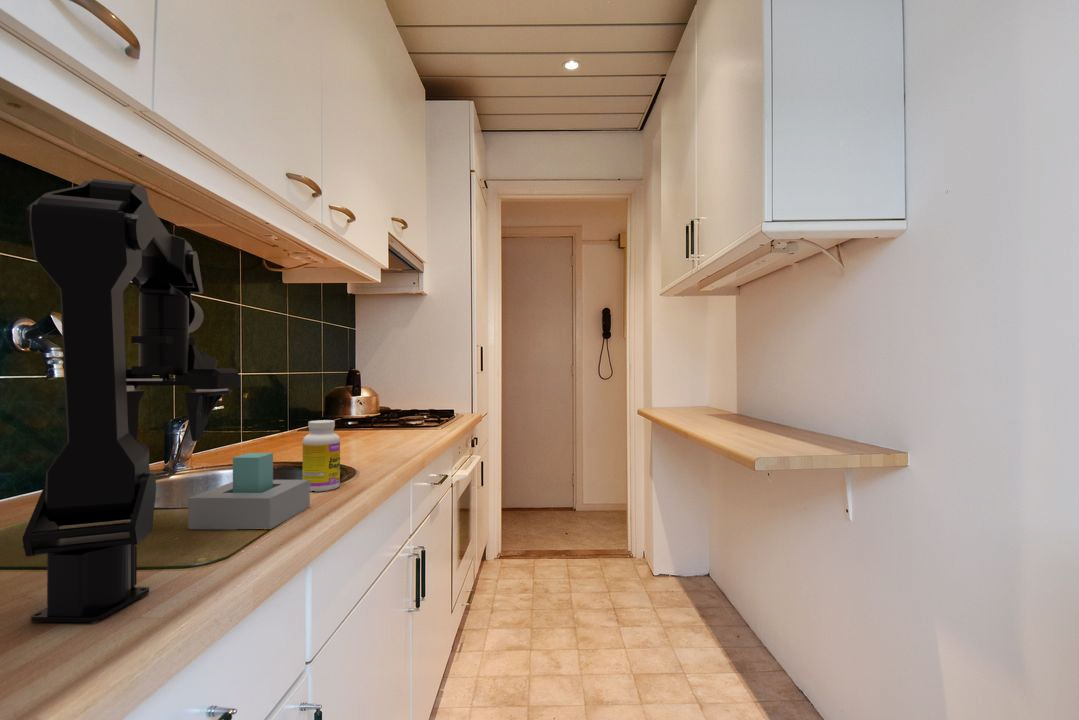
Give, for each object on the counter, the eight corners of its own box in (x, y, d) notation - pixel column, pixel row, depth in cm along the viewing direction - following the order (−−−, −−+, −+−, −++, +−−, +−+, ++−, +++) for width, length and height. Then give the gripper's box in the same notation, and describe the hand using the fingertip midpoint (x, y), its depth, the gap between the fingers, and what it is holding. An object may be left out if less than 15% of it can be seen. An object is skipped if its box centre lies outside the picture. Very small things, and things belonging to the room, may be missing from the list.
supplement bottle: (331, 492, 96) (331, 423, 96) (295, 492, 96) (295, 423, 97) (345, 484, 103) (345, 419, 103) (312, 484, 103) (312, 419, 103)
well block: (269, 529, 75) (269, 498, 75) (188, 529, 75) (188, 497, 75) (309, 506, 87) (309, 479, 87) (239, 506, 87) (239, 479, 87)
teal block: (258, 517, 79) (258, 457, 79) (232, 517, 79) (232, 457, 79) (273, 509, 83) (272, 453, 83) (248, 509, 83) (248, 453, 83)
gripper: (261, 332, 81) (261, 433, 81) (145, 333, 82) (145, 433, 82) (214, 327, 70) (214, 444, 70) (80, 328, 71) (79, 444, 71)
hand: (164, 440), depth 73 cm, fingers open, 9 cm apart
